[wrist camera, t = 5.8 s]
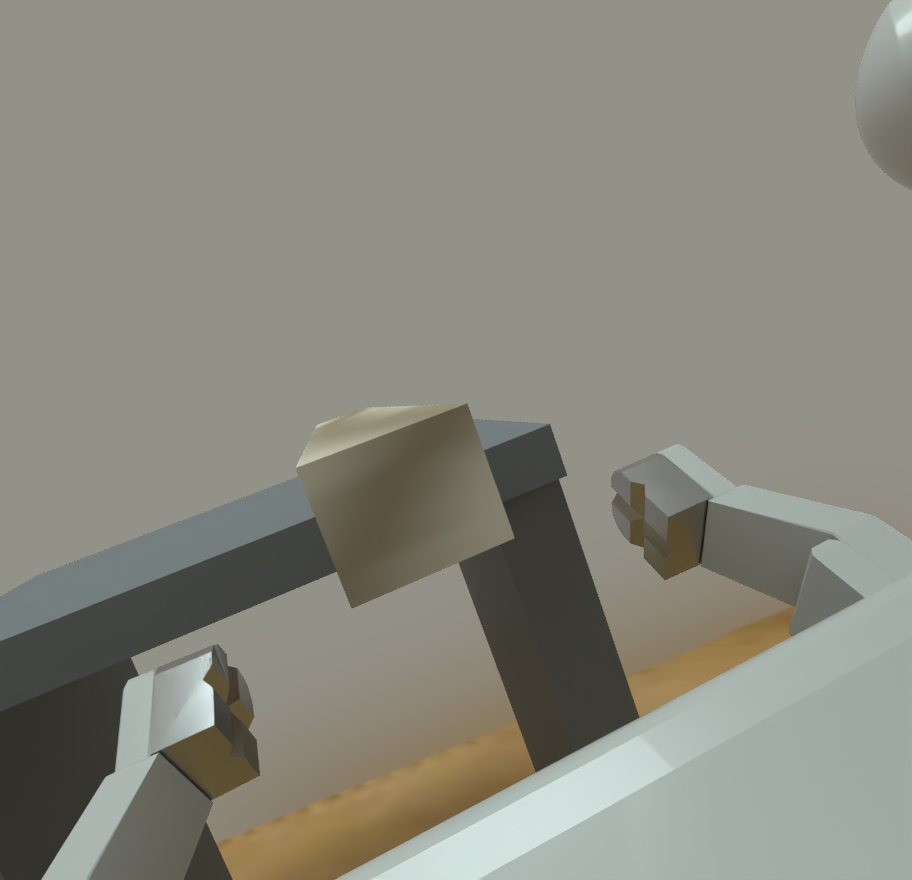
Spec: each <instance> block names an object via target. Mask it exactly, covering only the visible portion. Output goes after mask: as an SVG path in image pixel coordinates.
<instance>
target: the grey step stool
mask: <svg viewBox="0 0 912 880" xmlns="http://www.w3.org/2000/svg"><path fill="white" fill-rule="evenodd" d="M473 421H474V424H475V427H476V430H477V433H478V436H479V438H480V441H481V444H482V447H483V450H484V452H485V455H486V458H487V461H488V464H489V467H490V469H491V472H492V475H493V478H494V481H495V484H496V486H497V489H498V492H499V495H500V498H501V501H502V503H503V506H504V509H505V512H506V515H507V518H508V520H509V523H510V526H511V529H512V532H513V534H514V537H515V538H514V539H512V540H509V541H507V542H505V543H503V544H500V545H498V546H496V547H493V548H491V549H489V550H486V551H484V552H482V553H479V554H477V555H475V556H472V557H470V558H468V559H465V560H463V561H461V562H459V565H460V568H461V571H462V573H463V576H464V579H465V581H466V584H467V586H468V590H469V592H470V595H471V598H472V600H473V603H474V606H475V608H476V611H477V614H478V616H479V619H480V622H481V625H482V627H483V630H484V633H485V635H486V638H487V641H488V644H489V646H490V649H491V652H492V654H493V657H494V660H495V663H496V665H497V668H498V671H499V673H500V676H501V679H502V682H503V684H504V687H505V690H506V692H507V695H508V698H509V700H510V703H511V706H512V709H513V711H514V714H515V717H516V719H517V722H518V725H519V728H520V730H521V733H522V736H523V738H524V741H525V744H526V747H527V749H528V752H529V755H530V757H531V760H532V763H533V766H534V768H535V771H536V772H538V771H540V770H542V769H544V768H545V767H547V766H549V765H551V764H553V763H555V762H557V761H559V760H560V759H562V758H564V757H566V756H568V755H570V754H572V753H574V752H576V751H577V750H579V749H581V748H583V747H585V746H587V745H589V744H591V743H593V742H594V741H596V740H598V739H600V738H602V737H604V736H606V735H608V734H609V733H611V732H613V731H615V730H617V729H619V728H621V727H623V726H625V725H626V724H628V723H630V722H632V721H634V720H636V719H638V718H639V715H638V712H637V709H636V706H635V703H634V700H633V697H632V694H631V691H630V688H629V685H628V683H627V680H626V677H625V674H624V671H623V668H622V665H621V662H620V659H619V656H618V653H617V650H616V647H615V644H614V641H613V638H612V635H611V632H610V629H609V626H608V623H607V621H606V617H605V615H604V612H603V609H602V606H601V603H600V600H599V597H598V594H597V591H596V588H595V585H594V582H593V579H592V576H591V573H590V570H589V567H588V564H587V562H586V559H585V556H584V553H583V550H582V547H581V544H580V541H579V538H578V535H577V532H576V529H575V526H574V523H573V520H572V518H571V514H570V511H569V508H568V505H567V502H566V499H565V496H564V493H563V490H562V487H561V485H560V482H559V479H560V478H562V477H564V476H567V473H566V470H565V467H564V465H563V462H562V459H561V456H560V453H559V450H558V447H557V444H556V441H555V438H554V435H553V432H552V429H551V426H550V424H541V423H525V422H510V421H509V422H508V421H493V420H479V419H473ZM334 572H337V571H336V568H335V566H334V563H333V561H332V558H331V556H330V553H329V551H328V548H327V546H326V543H325V541H324V538H323V536H322V533H321V531H320V528H319V526H318V523H317V521H316V518H315V516H314V513H313V510H312V508H311V505H310V503H309V500H308V498H307V495H306V493H305V490H304V488H303V485H302V483H301V480H300V478H299V477H296V478H293V479H291V480H288V481H285V482H283V483H280V484H278V485H275V486H272V487H270V488H267V489H264V490H262V491H259V492H257V493H254V494H251V495H249V496H246V497H243V498H241V499H238V500H235V501H233V502H230V503H227V504H225V505H222V506H219V507H217V508H214V509H212V510H209V511H207V512H204V513H201V514H198V515H196V516H193V517H190V518H188V519H185V520H183V521H180V522H177V523H175V524H172V525H169V526H167V527H164V528H162V529H159V530H156V531H153V532H151V533H148V534H146V535H143V536H140V537H138V538H135V539H132V540H130V541H127V542H125V543H122V544H119V545H117V546H114V547H111V548H109V549H106V550H104V551H101V552H98V553H95V554H93V555H90V556H88V557H85V558H83V559H80V560H77V561H74V562H72V563H69V564H66V565H64V566H61V567H58V568H56V569H53V570H51V571H48V572H46V573H43V574H40V575H37V576H35V577H34V578H32V579H30V580H28V581H27V582H25V583H23V584H21V585H20V586H18V587H16V588H14V589H13V590H11V591H9V592H8V593H6V594H4V595H2V596H0V880H41V879H42V878H43V876H44V875H45V873H46V871H47V870H48V868H49V867H50V865H51V863H52V862H53V860H54V859H55V857H56V855H57V854H58V852H59V851H60V849H61V847H62V846H63V844H64V843H65V841H66V839H67V838H68V836H69V835H70V833H71V831H72V830H73V828H74V827H75V825H76V823H77V822H78V820H79V819H80V817H81V815H82V814H83V812H84V811H85V809H86V807H87V806H88V804H89V803H90V801H91V799H92V798H93V796H94V795H95V793H96V791H97V790H98V788H99V787H100V785H101V783H102V782H103V780H104V779H105V777H106V776H108V775H110V774H112V773H114V772H115V765H116V756H117V746H118V736H119V726H120V717H121V707H122V697H123V690H124V687H125V685H126V684H127V682H128V680H130V679H132V678H135V677H137V676H139V675H138V673H137V670H136V669H135V667H134V664H133V662H132V660H131V657H133V656H135V655H137V654H140V653H142V652H145V651H147V650H150V649H152V648H154V647H157V646H159V645H161V644H164V643H166V642H169V641H171V640H173V639H176V638H178V637H181V636H183V635H186V634H188V633H190V632H193V631H195V630H198V629H200V628H202V627H205V626H207V625H210V624H212V623H214V622H217V621H219V620H221V619H224V618H226V617H229V616H231V615H233V614H236V613H238V612H241V611H243V610H246V609H248V608H250V607H253V606H255V605H258V604H260V603H262V602H265V601H267V600H269V599H272V598H274V597H277V596H279V595H282V594H284V593H286V592H289V591H291V590H294V589H296V588H298V587H301V586H303V585H306V584H308V583H310V582H312V581H315V580H318V579H320V578H322V577H325V576H327V575H329V574H332V573H334ZM184 880H232V877H231V875H230V873H229V871H228V869H227V867H226V864H225V862H224V860H223V858H222V856H221V853H220V851H219V849H218V847H217V845H216V843H215V841H214V838H213V836H212V834H211V832H210V829H209V827H208V825H207V823H205V825H204V828H203V831H202V833H201V836H200V838H199V841H198V844H197V846H196V849H195V851H194V854H193V857H192V859H191V862H190V865H189V867H188V870H187V872H186V875H185V878H184Z"/></svg>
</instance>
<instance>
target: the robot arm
mask: <svg viewBox="0 0 912 880" xmlns="http://www.w3.org/2000/svg"><path fill="white" fill-rule="evenodd" d="M855 109H856V120H857V125H858V129H859V132H860V136H861V139H862V140H863V143H864V145H865V147H866V149H867V151H868V153H869V154H870V156H871V157H872V159H873V160H874V161H875V163H876V164H877V165H878V166H879V167H880V168H881V169H882V170H883V172H884V173H886V174H887V175H888V176H889V177H891V178H892V179H893V180H894V181H896V182H898V183H899V184H901V185H903V186H904V187H906V188H908V189H910V190H912V0H892V1H891V2H890V3H889V4H888V5H887V7H886V9H885V10H884V12H883V13H882V15H881V17H880V18H879V20H878V22H877V24H876V26H875V28H874V30H873V32H872V34H871V36H870V38H869V41H868V43H867V46H866V48H865V51H864V54H863V57H862V60H861V64H860V68H859V71H858V77H857V83H856V93H855ZM611 482H612V483H611V484H612V485H611V486H612V488H613V489H614V490H615V491H616V492H617V494H616V496H615V498H614V500H613V502H612V511H613V516H614V519H615V521H616V524H617V526H618V528H619V529H620V531H621V533H622V534H623V535H624V537H625V538H626V539H627V540H628V541H629V542H630V543H631V544H634V545H637V546H640V547H644V559H645V560H646V561H647V562H648V563H649V564H650V565H651V566H652V567H653V568H654V569H655V570H656V571H657V572H658V573H659V574H660V576H661V577H662V578H663V579H664V580H666V579H669V578H671V577H673V576H675V575H678V574H680V573H682V572H684V571H687V570H689V569H691V568H693V567H696V566H698V565H700V564H701V566H702V567H704V568H706V569H709V570H711V571H713V572H716V573H718V574H720V575H722V576H725V577H727V578H729V579H732V580H734V581H736V582H739V583H741V584H743V585H746V586H748V587H750V588H752V589H755V590H757V591H759V592H762V593H764V594H766V595H769V596H771V597H773V598H776V599H778V600H780V601H783V602H785V603H787V604H790V605H792V606H794V607H795V609H794V613H793V616H792V620H791V623H790V630H789V634H790V635H791V636H792V637H790V638H789V639H787V640H785V641H783V642H781V643H779V644H777V645H775V646H774V647H772V648H770V649H768V650H766V651H764V652H762V653H760V654H758V655H757V656H755V657H753V658H751V659H749V660H747V661H745V662H743V663H742V664H740V665H738V666H736V667H734V668H732V669H730V670H728V671H726V672H725V673H723V674H721V675H719V676H717V677H715V678H713V679H711V680H709V681H708V682H706V683H704V684H702V685H700V686H698V687H696V688H694V689H692V690H691V691H689V692H687V693H685V694H683V695H681V696H679V697H677V698H675V699H674V700H672V701H670V702H668V703H666V704H664V705H662V706H660V707H659V708H657V709H655V710H653V711H651V712H649V713H647V714H645V715H643V716H642V717H640V718H638V719H636V720H634V721H632V722H630V723H628V724H626V725H625V726H623V727H621V728H619V729H617V730H615V731H613V732H611V733H609V734H608V735H606V736H604V737H602V738H600V739H598V740H596V741H594V742H593V743H591V744H589V745H587V746H585V747H583V748H581V749H579V750H577V751H576V752H574V753H572V754H570V755H568V756H566V757H564V758H562V759H560V760H559V761H557V762H555V763H553V764H551V765H549V766H547V767H545V768H544V769H542V770H540V771H538V772H536V773H534V774H532V775H530V776H528V777H527V778H525V779H523V780H521V781H519V782H517V783H515V784H513V785H512V786H510V787H508V788H506V789H504V790H502V791H500V792H498V793H496V794H495V795H493V796H491V797H489V798H487V799H485V800H483V801H481V802H480V803H478V804H476V805H474V806H472V807H470V808H468V809H466V810H464V811H463V812H461V813H459V814H457V815H455V816H453V817H451V818H449V819H448V820H446V821H444V822H442V823H440V824H438V825H436V826H434V827H433V828H431V829H429V830H427V831H425V832H423V833H421V834H419V835H417V836H416V837H414V838H412V839H410V840H408V841H406V842H404V843H402V844H401V845H399V846H397V847H395V848H393V849H391V850H389V851H387V852H385V853H384V854H382V855H380V856H378V857H376V858H374V859H372V860H370V861H369V862H367V863H365V864H363V865H361V866H359V867H357V868H355V869H353V870H352V871H350V872H348V873H346V874H344V875H342V876H340V877H338V878H337V879H335V880H912V541H911V540H910V539H908V538H907V537H905V536H904V535H902V534H901V533H899V532H898V531H896V530H895V529H893V528H892V527H890V526H889V525H887V524H886V523H884V522H883V521H881V520H880V519H878V518H877V517H875V516H873V515H870V514H865V513H861V512H857V511H852V510H848V509H844V508H840V507H835V506H831V505H827V504H823V503H819V502H814V501H810V500H806V499H802V498H798V497H794V496H789V495H785V494H781V493H777V492H772V491H768V490H764V489H760V488H756V487H751V486H747V485H741V486H738V487H736V486H735V485H734V484H732V483H731V482H730V481H728V480H727V479H725V478H724V477H723V476H722V475H720V474H719V473H718V472H716V471H715V470H714V469H712V468H711V467H710V466H709V465H707V464H706V463H705V462H703V461H702V460H701V459H700V458H698V457H697V456H696V455H694V454H693V453H692V452H690V451H689V450H688V449H686V448H685V447H684V446H681V445H678V444H676V445H674V446H672V447H669V448H667V449H665V450H663V451H660V452H658V453H656V454H653V455H651V456H648V457H646V458H644V459H642V460H639V461H637V462H635V463H633V464H630V465H628V466H626V467H624V468H621V469H619V470H617V471H615V472H614V473H613V475H612V477H611ZM253 718H254V712H253V704H252V699H251V696H250V692H249V689H248V686H247V684H246V682H245V680H244V678H243V676H242V675H241V673H240V672H239V670H238V669H237V668H234V667H230V666H227V654H226V653H225V652H224V651H223V650H222V648H220V646H219V645H213V646H210V647H207V648H205V649H203V650H200V651H198V652H195V653H193V654H190V655H188V656H185V657H183V658H180V659H178V660H175V661H173V662H170V663H168V664H165V665H163V666H160V667H158V668H157V669H154V670H152V671H149V672H147V673H144V674H142V675H140V676H137V677H135V678H132V679H130V680H128V682H127V684H126V685H125V687H124V690H123V697H122V707H121V717H120V726H119V736H118V746H117V756H116V765H115V772H114V773H112V774H110V775H108V776H106V777H105V779H104V780H103V782H102V783H101V785H100V787H99V788H98V790H97V791H96V793H95V795H94V796H93V798H92V799H91V801H90V803H89V804H88V806H87V807H86V809H85V811H84V812H83V814H82V815H81V817H80V819H79V820H78V822H77V823H76V825H75V827H74V828H73V830H72V831H71V833H70V835H69V836H68V838H67V839H66V841H65V843H64V844H63V846H62V847H61V849H60V851H59V852H58V854H57V855H56V857H55V859H54V860H53V862H52V863H51V865H50V867H49V868H48V870H47V871H46V873H45V875H44V876H43V878H42V879H41V880H184V878H185V875H186V872H187V870H188V867H189V865H190V862H191V859H192V857H193V854H194V851H195V849H196V846H197V844H198V841H199V838H200V836H201V833H202V831H203V828H204V825H205V823H206V820H207V817H208V815H209V812H210V809H211V807H212V804H213V802H212V801H211V800H213V799H215V798H217V797H219V796H221V795H223V794H225V793H227V792H229V791H231V790H233V789H235V788H237V787H239V786H240V785H242V784H244V783H246V782H248V781H250V780H252V779H254V778H256V777H258V776H260V770H259V760H258V751H257V740H256V739H255V738H254V736H253V735H252V734H251V732H250V731H249V730H248V728H249V726H250V724H251V722H252V720H253Z"/></svg>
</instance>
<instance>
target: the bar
mask: <svg viewBox="0 0 912 880" xmlns="http://www.w3.org/2000/svg"><path fill="white" fill-rule="evenodd" d="M296 470H297V473H298V475H299V478H300V480H301V483H302V485H303V488H304V490H305V493H306V495H307V498H308V500H309V503H310V505H311V508H312V510H313V513H314V516H315V518H316V521H317V523H318V526H319V528H320V531H321V533H322V536H323V538H324V541H325V543H326V546H327V548H328V551H329V553H330V556H331V558H332V561H333V563H334V566H335V568H336V571H337V573H338V575H339V578H340V581H341V583H342V586H343V588H344V591H345V593H346V595H347V598H348V601H349V603H350V605H351V608H354V607H356V606H359V605H361V604H364V603H366V602H368V601H370V600H373V599H375V598H377V597H380V596H382V595H384V594H387V593H389V592H391V591H393V590H396V589H398V588H400V587H403V586H405V585H408V584H410V583H412V582H414V581H417V580H419V579H421V578H424V577H426V576H428V575H430V574H433V573H435V572H438V571H440V570H442V569H445V568H447V567H449V566H452V565H454V564H456V563H459V562H461V561H463V560H465V559H468V558H470V557H472V556H475V555H477V554H479V553H482V552H484V551H486V550H489V549H491V548H493V547H496V546H498V545H500V544H503V543H505V542H507V541H509V540H512V539H514V538H515V537H514V534H513V532H512V529H511V526H510V523H509V520H508V518H507V515H506V512H505V509H504V506H503V503H502V501H501V498H500V495H499V492H498V489H497V486H496V484H495V481H494V478H493V475H492V472H491V469H490V467H489V464H488V461H487V458H486V455H485V452H484V450H483V447H482V444H481V441H480V438H479V436H478V433H477V430H476V427H475V424H474V421H473V419H472V416H471V413H470V410H469V407H468V404H445V405H420V406H396V407H374V408H363V409H360V410H357V411H355V412H352V413H349V414H346V415H343V416H341V417H338V418H335V419H333V420H330V421H327V422H324V423H322V424H319V425H317V426H316V428H315V430H314V432H313V434H312V436H311V438H310V440H309V442H308V444H307V446H306V448H305V450H304V452H303V454H302V456H301V458H300V460H299V462H298V464H297V466H296Z"/></svg>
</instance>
